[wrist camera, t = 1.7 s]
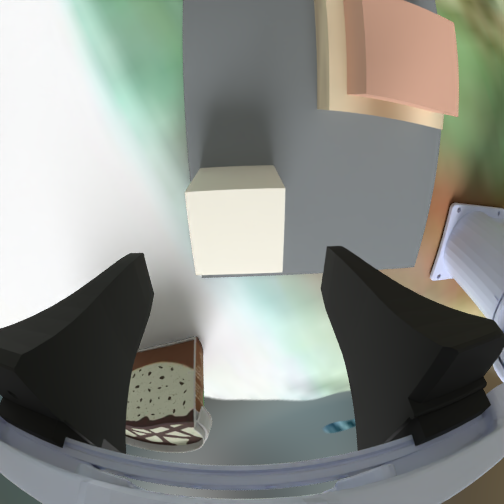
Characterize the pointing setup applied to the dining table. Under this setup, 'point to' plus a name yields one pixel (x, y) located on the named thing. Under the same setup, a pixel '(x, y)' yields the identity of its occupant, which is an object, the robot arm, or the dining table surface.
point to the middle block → (401, 55)
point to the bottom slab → (335, 73)
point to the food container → (168, 398)
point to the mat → (303, 135)
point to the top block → (236, 220)
